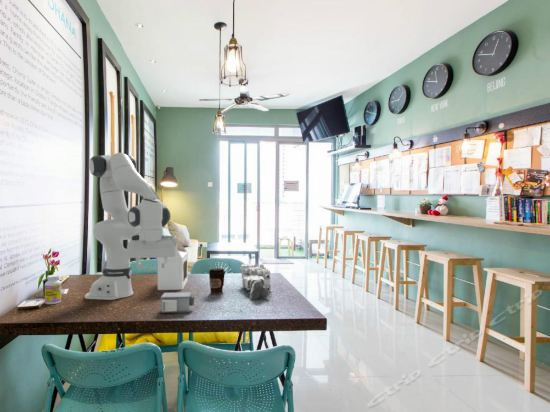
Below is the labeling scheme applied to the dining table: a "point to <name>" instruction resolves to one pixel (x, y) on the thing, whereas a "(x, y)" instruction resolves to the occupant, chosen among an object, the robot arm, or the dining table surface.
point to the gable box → (174, 270)
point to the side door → (169, 305)
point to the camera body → (179, 301)
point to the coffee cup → (216, 280)
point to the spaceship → (256, 280)
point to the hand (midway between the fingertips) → (152, 268)
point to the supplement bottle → (53, 290)
